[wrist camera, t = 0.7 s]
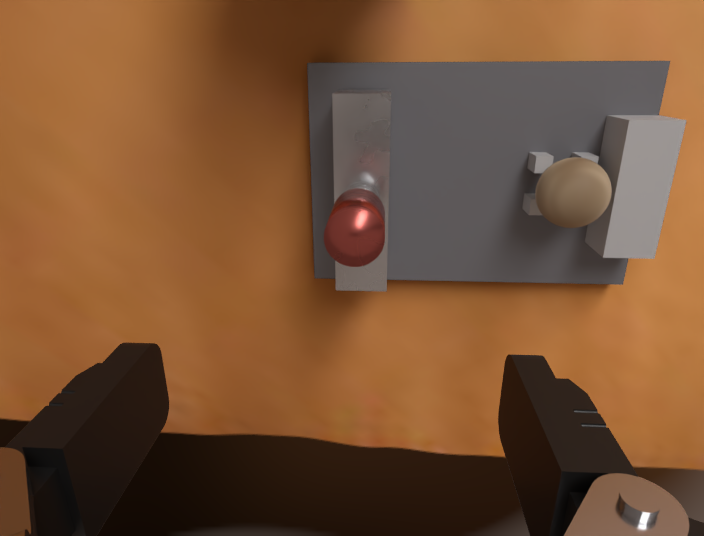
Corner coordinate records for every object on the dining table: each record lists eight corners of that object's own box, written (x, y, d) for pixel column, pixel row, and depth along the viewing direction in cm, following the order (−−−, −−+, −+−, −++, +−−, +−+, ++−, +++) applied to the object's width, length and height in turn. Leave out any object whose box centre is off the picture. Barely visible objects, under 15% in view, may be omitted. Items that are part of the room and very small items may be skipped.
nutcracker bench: (657, 61, 30) (700, 60, 26) (613, 275, 36) (643, 303, 31) (310, 62, 32) (299, 62, 27) (317, 270, 37) (308, 296, 33)
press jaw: (390, 89, 30) (393, 102, 19) (386, 261, 34) (387, 352, 23) (340, 89, 30) (314, 102, 19) (342, 260, 34) (322, 350, 24)
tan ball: (600, 152, 30) (631, 164, 26) (589, 217, 31) (616, 237, 28) (531, 151, 30) (552, 163, 26) (523, 216, 32) (542, 236, 28)
